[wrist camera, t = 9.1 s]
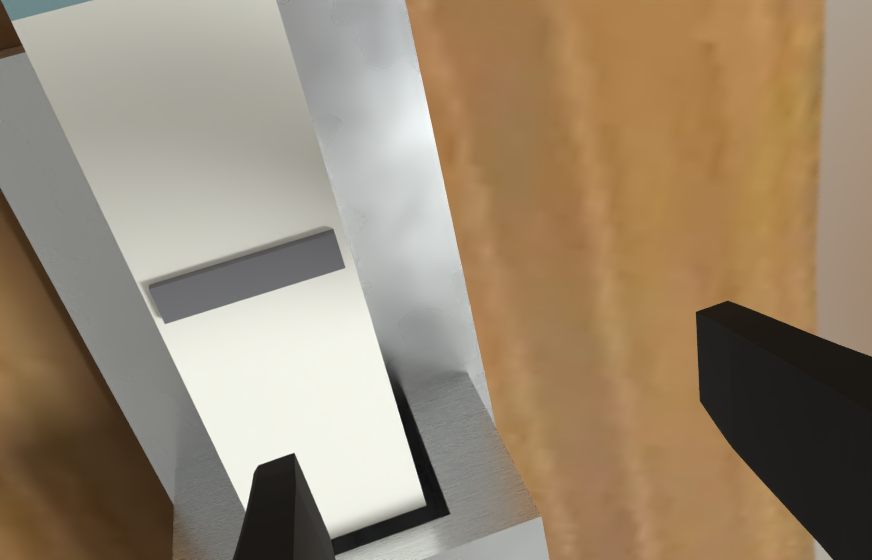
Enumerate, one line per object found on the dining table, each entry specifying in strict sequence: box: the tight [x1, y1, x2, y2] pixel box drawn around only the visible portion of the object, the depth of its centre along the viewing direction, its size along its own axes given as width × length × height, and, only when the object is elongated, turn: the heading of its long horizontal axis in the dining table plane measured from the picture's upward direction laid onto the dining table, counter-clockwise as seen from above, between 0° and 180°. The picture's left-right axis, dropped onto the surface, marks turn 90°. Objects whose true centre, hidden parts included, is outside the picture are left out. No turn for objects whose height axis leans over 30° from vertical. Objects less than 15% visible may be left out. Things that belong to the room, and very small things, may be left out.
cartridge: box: [1, 0, 426, 539], centre depth 17 cm, size 14×4×5 cm, turn 12°
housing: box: [0, 0, 549, 560], centre depth 20 cm, size 21×10×7 cm, turn 12°
